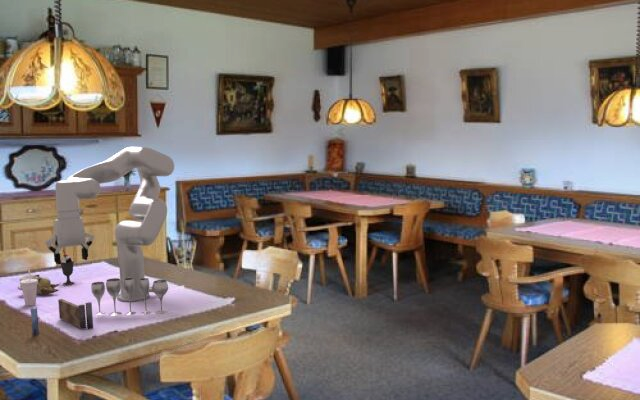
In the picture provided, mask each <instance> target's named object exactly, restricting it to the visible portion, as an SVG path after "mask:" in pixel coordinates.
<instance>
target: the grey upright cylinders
mask: <svg viewBox="0 0 640 400" xmlns="http://www.w3.org/2000/svg"><path fill="white" fill-rule="evenodd" d="M84 305H85V317H86V330H93V329H94V321H93V319H94V318H93V317H94V316H93V304H92V302H85V304H84ZM30 318H31V319H30V321H31V330H32V331H31V332H32V336H38V335H40V331H39V319H38V308H37V307H31V308H30Z"/></svg>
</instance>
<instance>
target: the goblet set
mask: <svg viewBox="0 0 640 400" xmlns="http://www.w3.org/2000/svg"><path fill="white" fill-rule="evenodd" d="M149 287H152V290H153V292H152V293H153V294H155V296H157V297H158V298H159V303H160V310H158V311H156V312H154V314H155V315H159V316H161V315H165V314H168V311H167V310H163V307H162V306H163V305H162V304H163V301H162V300H163V298H164V297H165V295H166V294H167V292H168V290H169V285H168V282H167V280H166V279H158V280H154V281H153V283H152V286H151V285H150V280H149V278H146V277H145V278H142V279H140V289H141V292H142V294H143V296H144V299H143V300H144V305H145V306H144V308H145V311H142V312H140V315H143V316H145V315H151V314H152V311H149V310H148V311H147V299H148V298H147V294H148V291H149ZM124 289H125V292H126V294H127V296H128V298H129V301H128V302H129V312H126V313H125V316H133V315H136V314H137V312H136V311H132V305H131V304H132V301H131V296H132V294H133V291H134V280H133V278H126V279H124ZM106 290H107V291H106ZM105 291H106V292H107V293H108V295H109V296H110V297H111V298H112V300H113V308H114V309H113V310H114V311H113V312H110V313H108V316H110V315H111V317H116V316H121V315H122V314H123V313H122V312H121V311H117V310H116V300H117V296H118V294H120V293H121V282H120V277H119V278H117V277H114V278H113V277H112V278H108V279H106V283H105V282H103V281H94V282H92V283H91V293H92V296H93V297H94V298H95V299H96V300H97V303H98V304H97V305H98V312H96V314H95V313H94V314H95V315H102V314H105V313H106V312H104V313H102V312H101V300H102V298H103V296H104V294H105ZM100 312H101V313H100ZM105 315H106V314H105Z"/></svg>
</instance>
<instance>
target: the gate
mask: <svg viewBox="0 0 640 400" xmlns="http://www.w3.org/2000/svg"><path fill="white" fill-rule="evenodd" d="M57 302H58V314H59V319H60V320H63V321H65V322H67V323H70V324H71V325H73V326H76V327H78V328H79V329H81V330H83V329H87V319H86V304H78V305H77V304H75V303H74V302H73V303H72V302H70V301H69V300H68V301H67V300H65V299H63V298H59V299H58V300H57Z"/></svg>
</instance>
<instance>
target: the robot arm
mask: <svg viewBox="0 0 640 400" xmlns="http://www.w3.org/2000/svg"><path fill="white" fill-rule="evenodd" d="M134 169H136V170H137V173H138V176H139V181H140V182H139V183H140V184H139V187H138V190H137V192H136V193H135V196H134V198H133V200H132V201H131V203H130V206H129V209H128V214H129V216H130V217H131V219H125V220H121V221H119V222H118V223H117V225H116V226H115V228H114V237H115V242H116V245H117V252H118V264H119V268H118V269H119V279H120V282H121V289H120V292H119V294H118V296H117V297H116V300H118V301H121V302H129V298H128V296H127V294H126V292H125V289H124V279H126V278H133V280H134V291H133V294H132V296H131V302H137V301H142V300H145V299H144V296H143V294H142V292H141V289H140V279H142V278H146V276H145V262H144V261H145V260H144V259H145V257H144V250H143V248H142V246H146V247H147V246H150V245H152V244H154V243H155V241H157V238H158V236H159V234H160V231H161V229H162V227H163V225H164V223H165V220H166V218H167V215H168V206H167V204H166V201H164V200H163V199H162V198H159V197H160V193H161V186H160V185H161V184H160V182H159V179H158V177H169V176H170V175H172V174H173V173H174V170H175V162H174V160H173V159H172V157H170V156H169V155H167V154H164V153H163V152H159V151H157V150H155V149H153V148H150V147H147V146H128V147H125V148H124V149H121V150H120V151H119V152H117V153H116V154H113V155H112V156H111V157H109V158H108V159H106V160H104V161H102V162H98V163H96V164H94V165H91V166H87V167H85V168H83V169H81V170H79V171H77V172H75V173H74V174H72V175H70V176H69V177H68V178H66V180H59V181H57V182H55V185H54V187H55V198H56V199H55V200H56V216H57V218H56V219H55V220H54V223H53V224H54V225H53V236H52V237H51V238H49V239H47V240H46V241H45V243H44V244H45V246H46V247H47V248H48V250H50V251H51V252H52V253H53V257H54V258H53V261H54V263H55V264H57V265H61V261H62V259H61V253H60V251H61V250H62V248H69V247H70V248H71V247H77V246H81V258H82V260H84V261H87V260H88V257H89V248H90V246H91V245H92V244H93V241H94V239H95V236H94V235H93V234H90V233H87V232H86V230H85V225H84V221H83V217H81V215H83V214H84V209H82V210H81V208H80V200H81V199H82V200H83V199H84V200H90V199H91V200H93V199H94V198H96V197H98V195H100V193H101V189H102V188H101V184H107V183H111V182H115V181H118V180H120V179H121V178H122V177H123V176H126V175H127V174H128V173H130V172H131V171H133V170H134ZM133 219H134V220H133ZM86 238H88V240H86ZM52 243H53V245H54V246H53V245H52ZM150 293H154V292H153V290H152V286H149V291H148V294H147V298H146V299H148V298H149V297H150Z"/></svg>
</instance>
